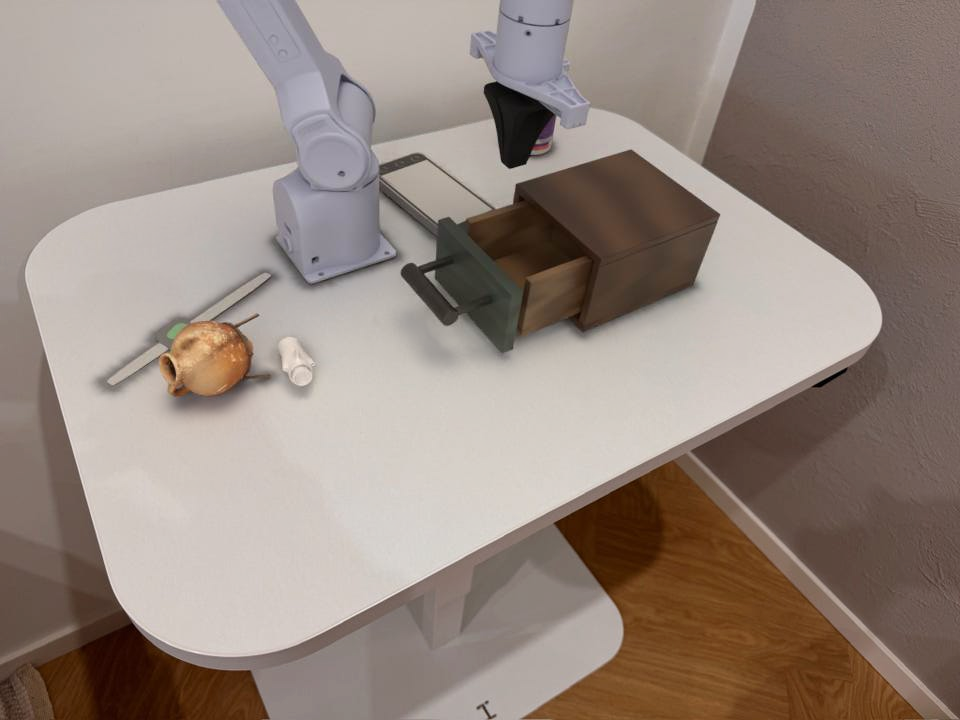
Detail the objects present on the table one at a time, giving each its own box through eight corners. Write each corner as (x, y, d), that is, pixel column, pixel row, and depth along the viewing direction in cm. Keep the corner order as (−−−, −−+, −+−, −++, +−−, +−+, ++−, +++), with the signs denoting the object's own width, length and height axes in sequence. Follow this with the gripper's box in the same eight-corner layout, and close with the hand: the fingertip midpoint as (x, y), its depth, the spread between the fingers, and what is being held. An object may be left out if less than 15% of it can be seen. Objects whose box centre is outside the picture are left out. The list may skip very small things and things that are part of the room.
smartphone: (419, 150, 86) (505, 215, 78) (419, 158, 87) (504, 223, 79) (366, 169, 82) (450, 238, 75) (366, 177, 83) (450, 247, 76)
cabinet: (582, 332, 69) (601, 259, 63) (504, 256, 76) (515, 183, 69) (693, 284, 75) (721, 214, 69) (612, 218, 82) (631, 148, 76)
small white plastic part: (324, 346, 65) (322, 319, 62) (312, 397, 60) (309, 371, 58) (282, 342, 64) (279, 316, 62) (267, 394, 60) (263, 367, 58)
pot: (246, 377, 64) (285, 379, 60) (156, 405, 59) (192, 409, 54) (229, 311, 63) (268, 307, 59) (136, 333, 58) (171, 331, 53)
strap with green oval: (255, 263, 70) (279, 277, 69) (256, 267, 71) (279, 280, 70) (95, 371, 60) (120, 388, 59) (96, 374, 60) (121, 392, 59)
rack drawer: (453, 374, 62) (459, 315, 58) (387, 294, 69) (388, 235, 64) (618, 305, 71) (635, 248, 66) (546, 239, 77) (557, 182, 72)
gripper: (632, 41, 57) (596, 193, 66) (523, -27, 65) (505, 118, 74) (559, 56, 54) (532, 213, 63) (454, -17, 61) (444, 132, 71)
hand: (513, 163), depth 69 cm, fingers closed
